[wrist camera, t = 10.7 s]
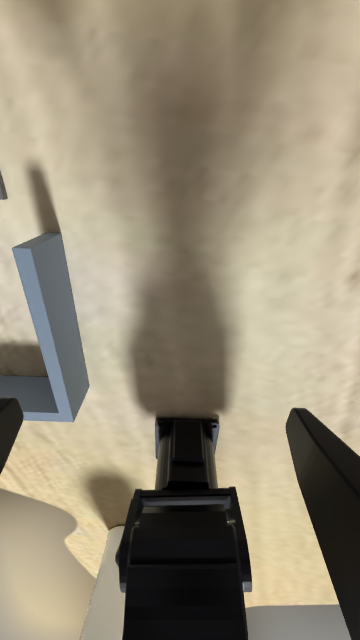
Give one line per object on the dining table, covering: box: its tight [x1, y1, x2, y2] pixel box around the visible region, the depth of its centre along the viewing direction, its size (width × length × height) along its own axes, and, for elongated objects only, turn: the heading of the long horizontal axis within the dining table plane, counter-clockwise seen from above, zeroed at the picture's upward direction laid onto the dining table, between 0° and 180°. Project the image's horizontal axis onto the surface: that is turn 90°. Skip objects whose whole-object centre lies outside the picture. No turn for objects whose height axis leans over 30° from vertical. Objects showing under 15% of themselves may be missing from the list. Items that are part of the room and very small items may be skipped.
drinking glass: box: [80, 526, 125, 640], centre depth 33 cm, size 7×7×15 cm
